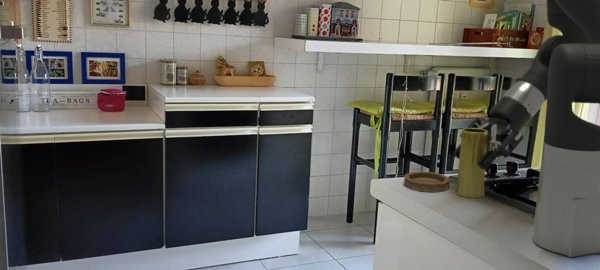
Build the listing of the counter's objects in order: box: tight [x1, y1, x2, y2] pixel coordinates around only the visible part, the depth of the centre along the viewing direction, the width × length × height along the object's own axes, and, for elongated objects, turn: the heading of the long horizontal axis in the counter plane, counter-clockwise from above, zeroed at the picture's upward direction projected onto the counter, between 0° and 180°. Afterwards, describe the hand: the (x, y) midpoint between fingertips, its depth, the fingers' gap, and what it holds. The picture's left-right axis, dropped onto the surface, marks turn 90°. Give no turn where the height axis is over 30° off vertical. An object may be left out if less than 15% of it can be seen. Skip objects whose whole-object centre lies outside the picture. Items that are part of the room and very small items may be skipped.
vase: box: [455, 127, 488, 199], centre depth 108 cm, size 6×6×14 cm
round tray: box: [403, 170, 451, 193], centre depth 115 cm, size 10×10×2 cm
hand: (467, 161), depth 108 cm, fingers open, 8 cm apart
